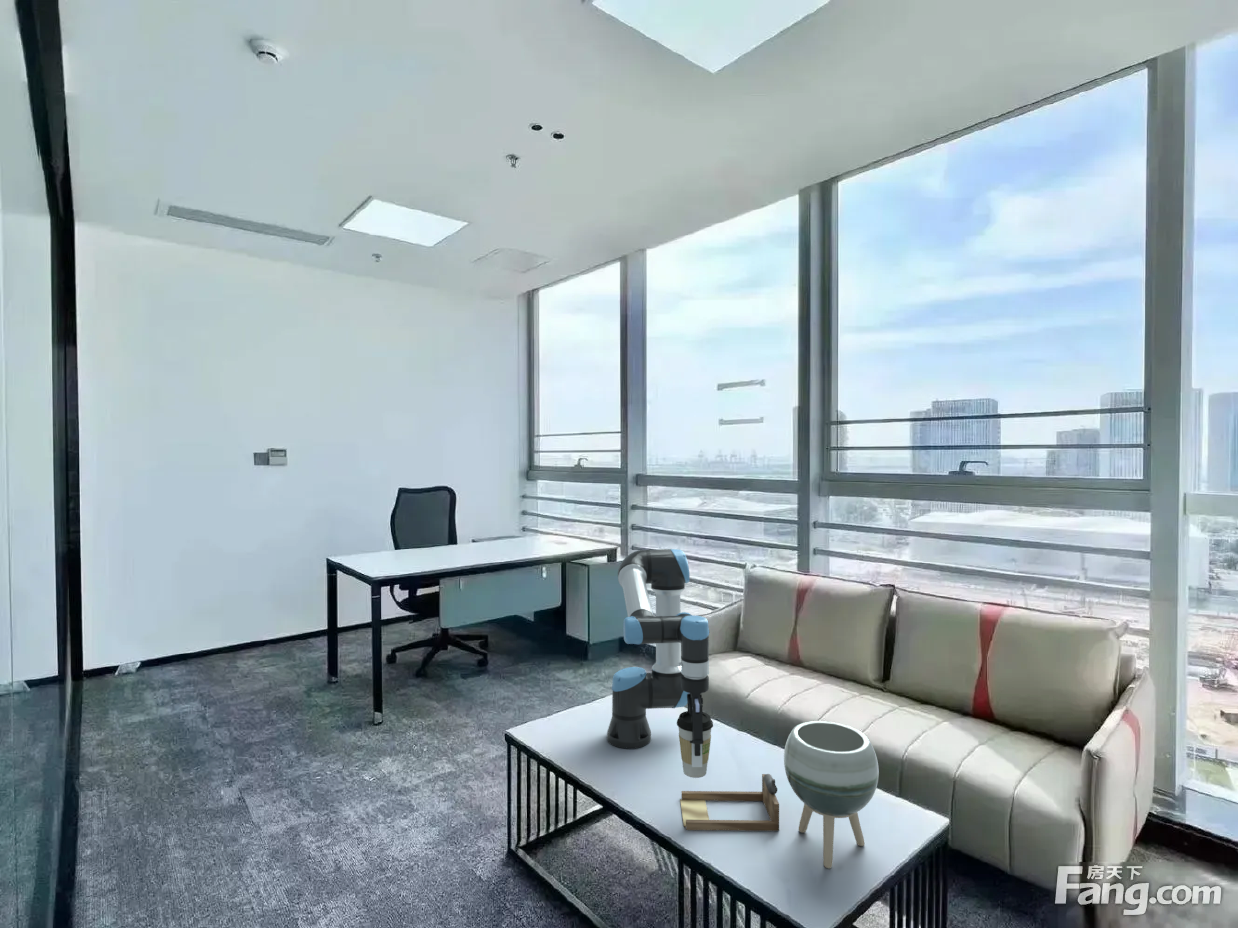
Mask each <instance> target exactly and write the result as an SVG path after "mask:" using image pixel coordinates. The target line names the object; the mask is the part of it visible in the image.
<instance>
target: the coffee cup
mask: <svg viewBox="0 0 1238 928" xmlns="http://www.w3.org/2000/svg"><path fill="white" fill-rule="evenodd" d="M702 723H703V744H702V767H692V743H690V741H692V718H691V715H690V714H689V711H688V710H687V711H683V712H681V713H680V714H679V717H678V718H677V720H676V726H677V727H678V739H679V748H680V757H681V761H682V762H681V763H682V768H683V770H682V771H683V774H684V775H685V776H687V777H689V778H693V779H694V778H695V779H698V778H699V779H700V778H703V777H705V776H706V775H707V771H708V770H707V769H708V762H709V756H710V748H711V739H712V728H713V727H714V721H713V720H712V718H711V715H709V713H707V712H704V711H703V714H702Z"/></svg>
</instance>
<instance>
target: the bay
mask: <svg viewBox="0 0 1238 928" xmlns="http://www.w3.org/2000/svg"><path fill="white" fill-rule="evenodd" d="M776 793H778V788H777V785H776V779H775V778H773V776H772V774H769V773H766V774H765V773H762V774H761V791H741V790H740V791H735V790H733V791H730V790H729V791H727V790H726V791H723V790H722V791H720V790H718V791H717V790H715V791H714V790H713V791H712V790H709V791H708V790H682V791H681V799H680V800H679V802H680V809H681V817H682V824H683V827H684V828H685V829H686V830H685V831H745V832H746V831H748V832H749V831H754V832H755V831H756V832H757V831H758V832H769V831H770V832H779V831H780V803H779V800H778V799H777V796H776ZM706 801H707V802H709V801H712V802H713V801H714V802H715V801H717V802H718V801H721V802H722V801H723V802H725V801H726V802H730V801H731V802H732V801H733V802H763V805H764V807H765V810H766V812H767V815H768V818H769V820H761V819H760V820H759V819H752V820H751V819H748V820H747V819H734V820H733V819H710V816H709V811H708V807H707V803H706Z"/></svg>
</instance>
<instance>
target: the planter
mask: <svg viewBox="0 0 1238 928" xmlns="http://www.w3.org/2000/svg"><path fill="white" fill-rule="evenodd" d="M783 752H784V753H783V765H784V766H783V767H784V771H785V775H786V779H787V780H788V783H789V786H790V787H791V789H792V791H793V792H794V794H795V795H796V797H798V799H799V800H800V801H801V802H802V803H803V808H802V812H801V817H800V819H799V826H798V832H800V833H801V834H803V833H806V832H807V829H808V826H809V824H810V820H811V818H812V815H813V813H816V814H818V815H821V816H822V826H823V827H822V830H823V833H822V834H823V837H822V838H823V839H822V841H823V842H822V846H823V847H822V849H823V850H822V851H823V852H822V853H823V857H822V858H823V859H822V860H823V862H822V864H823V867H824V868H826V869H831V868H832V867H833V858H834V857H833V856H834V838H835V836H834V835H835V819H845V818H848V820H849V823H850V826H851V829H852V832H853V835H854V839H855V842H856V844H857V845H858V846H859V847H864V846H865V845H866V844H865V837H864V833H863V831H862V826H861V822H860V818H859V814H858V813H859V812H860V811H861V810H863V809H864V808H865V807H866V806H868V804H869V803H870V801H871V800H872V799H873V798H874V795H875V792H876V791H877V786H878V783H879V776H880V775H879V774H880V772H879V763H878V762H879V761H878V757H877V754H876V751H875V748H874V746H873V744H872V743H871V741H870V739H869V737H868V736H867V735H866V734H865V733H863V732H862V731H860V730H858V729H857V728H855V727H853V726H851V725H847V724H844V723H840V722H835V721H828V720H810V721H804V722H802V723H798V724H797V725H795V726H794V727H793V728H792V730H791V731H790V733H789V734H788V737H787V740H786V742H785V746H784V751H783Z"/></svg>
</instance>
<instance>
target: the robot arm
mask: <svg viewBox="0 0 1238 928" xmlns="http://www.w3.org/2000/svg"><path fill="white" fill-rule="evenodd" d="M686 555H687V554H686V553H685V552H684V551H683V550H681V549H678V548H677V549H675V548H663V549H662V548H660V549H639V550H635V551H633V552H631V553H630V554H628V555H627V556H626V557H625V558H624V559H623V560H622V561H621V563H620V564H619V566H618V571H617V579H618V580H617V581H618V583H619V585H620V587H621V588H622V590H623V591H622V592H623V596H624V603H625V607H626V608H625V609H626V612H627V616H626V617H625V618H624V619H623V623H622V624H623V626H622V627H623V628H622V629H623V630H622V632H623V640H624V642H625V644H627V645H629V644H630V645H633V644H634V645H648V644H649V645H650V644H652V645H653V644H655V662H654V664H653V665H652V666H651V672H647V670H646V669H645V668H643V667H640V666H639V667H638V666H629V667H624V668H621V669H619V670H618V671H616V672H615V673H614V674H613V676H612V683H611V692H612V693H611V694H612V696H611V697H612V698H611V699H612V703H611V704H612V705H611V708H612V709H611V713H612V714H611V719H610V720H609V721H610V723H609V725H608V728H607V732H606V740H607V742H608V743H609V744H610V745H612V746H613V747H616V748H621V749H626V750H628V749H629V750H630V749H639V748H643V747H645V746H647V745H649V743H650V742H651V741H652V731H651V727H650V725H649V721H648V718H647V710H649V709H651V710H652V709H653V710H654V709H676V708H684V707H686V705H687V711H689V714H690V715H691V718H692V741H690V743H692V767H702V744H703V723H702V714H703V712H704V711H703V704H704V698H703V697H702V694H703V693H706V692H708V691H709V689H710V679H709V677H710V676H709V674H710V659H709V655H710V654H709V653H710V651H709V649H710V648H709V647H710V642H709V641H710V640H709V639H710V636H709V635H710V629H709V621H708V619H707V617H705V616H700V615H695V614H694V615H693V614H691V613H689V612H685V611H683V612H681V593H682V592H683V591H684V590H685V587H686V584H688V583H689V582H690V575H691V574H690V567H689V563H688V562H689V561H688V558H687V556H686ZM647 584H648V585H649V584H650V586H651V587H650V588H651V590H652V591H653V592H654V593H655V616H654V611H653V608H652V607H653V606H652V603H651V598H650V596H649V591H648V587H647Z"/></svg>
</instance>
